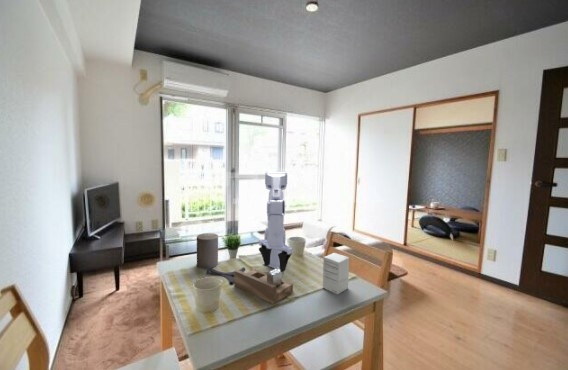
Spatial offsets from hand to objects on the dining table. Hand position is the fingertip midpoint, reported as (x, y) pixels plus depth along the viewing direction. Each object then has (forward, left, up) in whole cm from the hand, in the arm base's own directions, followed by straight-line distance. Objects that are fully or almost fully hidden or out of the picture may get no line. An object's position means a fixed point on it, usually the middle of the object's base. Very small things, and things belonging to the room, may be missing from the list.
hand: (274, 268), depth 98 cm
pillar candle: (+1, -40, -10) cm, 41 cm away
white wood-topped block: (0, 0, -9) cm, 9 cm away
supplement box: (-18, +16, -10) cm, 26 cm away
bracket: (+3, -26, -10) cm, 28 cm away
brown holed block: (0, -5, -9) cm, 11 cm away
